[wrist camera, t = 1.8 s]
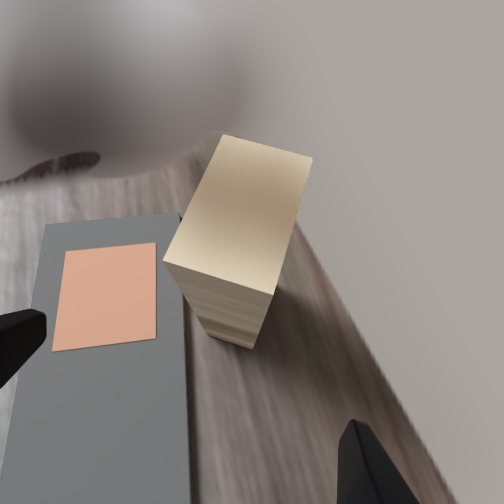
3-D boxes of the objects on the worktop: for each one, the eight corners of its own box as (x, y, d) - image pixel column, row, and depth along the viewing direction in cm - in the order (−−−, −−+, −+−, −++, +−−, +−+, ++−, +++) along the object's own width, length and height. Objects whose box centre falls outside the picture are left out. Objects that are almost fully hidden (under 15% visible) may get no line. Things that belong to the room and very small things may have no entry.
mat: (195, 590, 15) (193, 599, 14) (-20, 635, 14) (-31, 647, 13) (180, 216, 24) (179, 211, 23) (50, 228, 23) (44, 224, 22)
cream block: (252, 349, 20) (273, 295, 8) (207, 334, 20) (162, 260, 8) (272, 282, 22) (313, 158, 10) (231, 269, 22) (223, 134, 10)
